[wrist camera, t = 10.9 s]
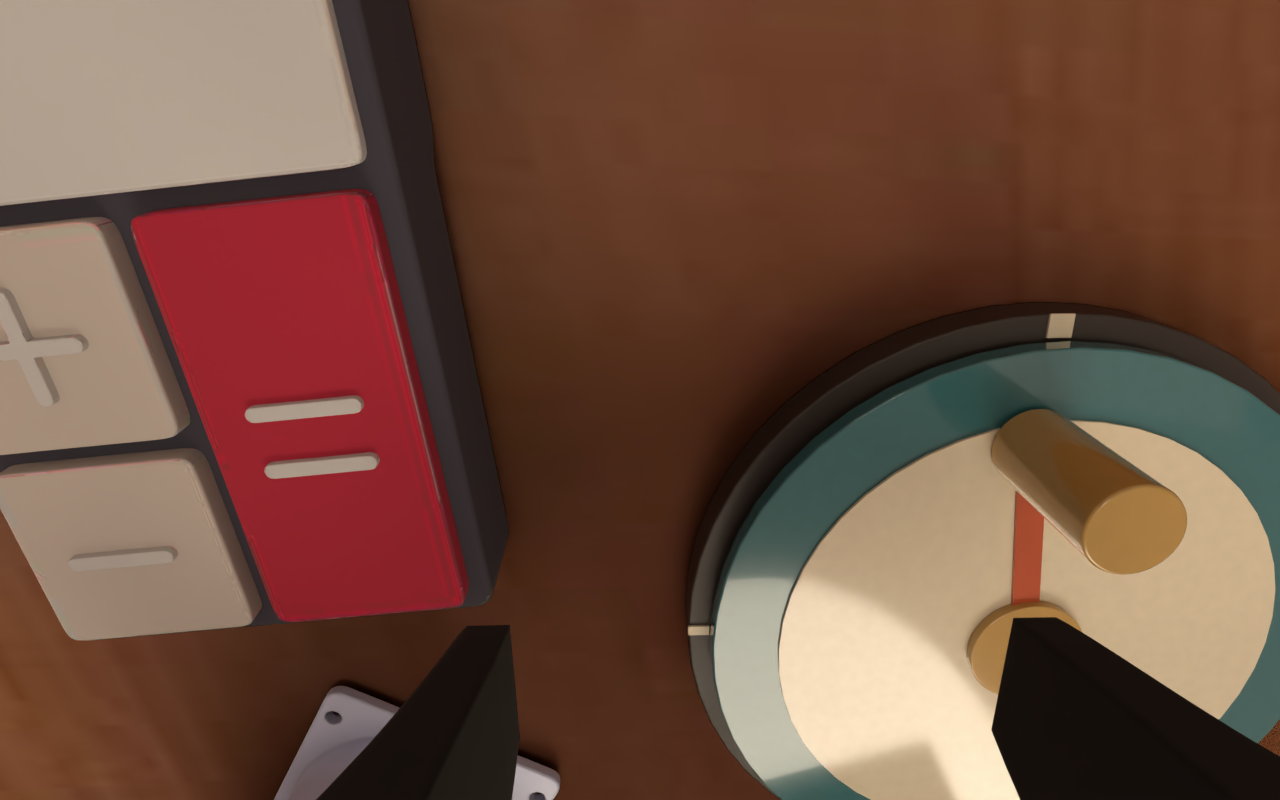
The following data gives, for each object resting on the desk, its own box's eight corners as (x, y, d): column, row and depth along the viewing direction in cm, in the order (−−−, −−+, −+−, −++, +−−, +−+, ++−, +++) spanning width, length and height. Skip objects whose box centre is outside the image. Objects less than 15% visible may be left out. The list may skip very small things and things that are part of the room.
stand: (1029, 884, 26) (1047, 920, 25) (581, 693, 23) (577, 724, 22) (1439, 489, 21) (1487, 512, 20) (922, 169, 18) (942, 173, 17)
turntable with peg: (1271, 815, 23) (1420, 977, 19) (739, 871, 24) (762, 1039, 20) (1384, 294, 17) (1636, 353, 13) (674, 391, 18) (686, 477, 14)
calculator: (51, 667, 18) (-329, -24, 12) (154, 562, 22) (-95, -1, 16) (490, 628, 18) (320, -103, 12) (515, 528, 22) (397, -60, 16)
